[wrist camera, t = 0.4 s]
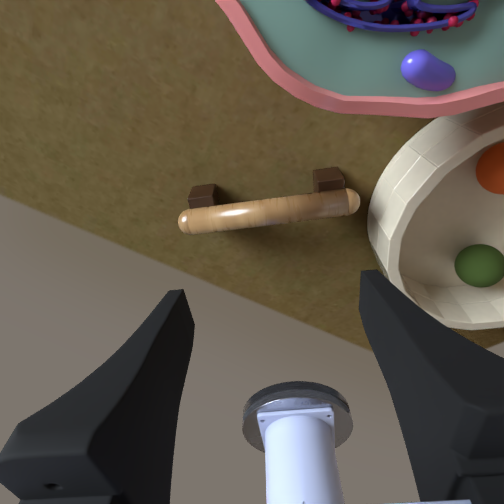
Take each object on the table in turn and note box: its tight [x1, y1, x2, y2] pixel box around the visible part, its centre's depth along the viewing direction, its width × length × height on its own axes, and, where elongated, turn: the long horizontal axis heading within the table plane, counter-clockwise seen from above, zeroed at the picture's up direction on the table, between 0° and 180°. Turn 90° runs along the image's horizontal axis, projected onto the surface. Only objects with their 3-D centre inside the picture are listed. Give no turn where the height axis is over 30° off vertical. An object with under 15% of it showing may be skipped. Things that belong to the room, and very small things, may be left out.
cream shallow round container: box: [367, 101, 504, 330], centre depth 21 cm, size 14×14×4 cm
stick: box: [178, 188, 360, 235], centre depth 20 cm, size 11×2×2 cm, turn 98°
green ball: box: [454, 244, 504, 288], centre depth 23 cm, size 3×3×3 cm
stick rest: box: [188, 167, 345, 209], centre depth 22 cm, size 10×2×2 cm, turn 98°
